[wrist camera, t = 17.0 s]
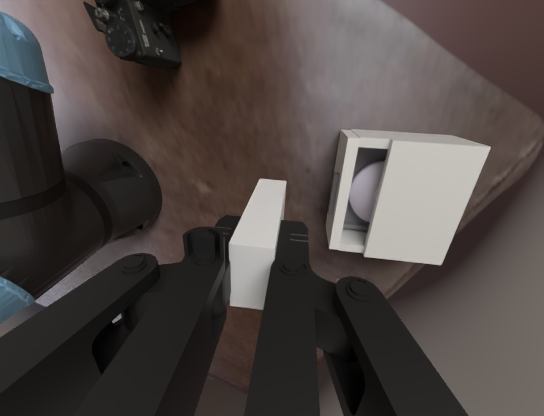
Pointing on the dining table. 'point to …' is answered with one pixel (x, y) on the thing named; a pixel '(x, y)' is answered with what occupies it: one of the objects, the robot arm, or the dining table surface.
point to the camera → (139, 29)
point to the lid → (366, 189)
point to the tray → (347, 186)
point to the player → (417, 195)
